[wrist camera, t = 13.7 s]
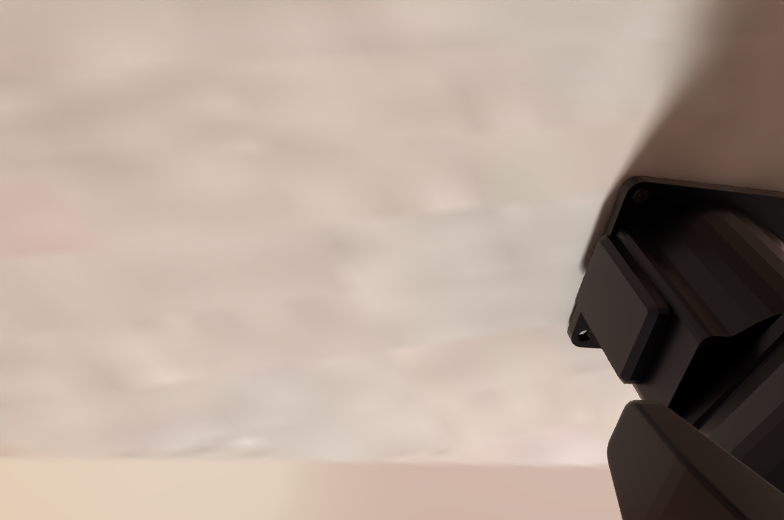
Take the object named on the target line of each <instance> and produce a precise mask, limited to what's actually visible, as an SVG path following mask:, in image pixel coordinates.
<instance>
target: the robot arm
mask: <svg viewBox="0 0 784 520" xmlns="http://www.w3.org/2000/svg"><path fill="white" fill-rule="evenodd" d="M639 189H643V192H642V193H641V194H640V195H639V196H637V197H633V195H634V193H635V192H636V191H637V190H639ZM575 302H576V304H577V305H576V308H575V311H574V313H573V316H572V319H571V321H570V324H569V327H568V331H567V333H568V335H569V338H570V339H571V341H572V343H573V344H574V345H575V346H578V347H585V348H601V349H603V351H604V353H605V355H606V356H607V358H608V360H609V362H610V363H611V365H612V367H613V369H614V370H615V372H616V374H617V376H618V377H619V378H620V380H621V381H622V382H623V383H624V384H633V386H634V388H635V389H636V391H637V393H638V394H639V396H640V398H641V399H642V400H633V401H630V402H629V403H628V404H626V406H625V408H624V410H623V412H622V414H621V416H620V418H619V420H618V423H617V425H616V427H615V429H614V431H613V433H612V436H611V438H610V440H609V443H608V448H607V458H608V464H609V468H610V471H611V475H612V480H613V483H614V487H615V492H616V496H617V499H618V503H619V507H620V511H621V515H622V519H623V520H784V193H783V192H775V191H766V190H757V189H749V188H740V187H732V186H723V185H714V184H706V183H697V182H688V181H680V180H671V179H663V178H654V177H645V176H635V177H632V178H630V179H628V180H627V181H626V182H625V183H624V184H623V186H622V188H621V190H620V192H619V195H618V197H617V200H616V203H615V205H614V208H613V211H612V213H611V216H610V219H609V221H608V224H607V226H606V229H605V232H604V234H603V236H602V237H601V238H600V239H599V240H598V241H597V243H596V246H595V249H594V251H593V254H592V257H591V259H590V262H589V265H588V267H587V270H586V273H585V275H584V278H583V281H582V283H581V286H580V289H579V291H578V294H577V297H576V300H575ZM584 330H587V331H586V332H585V333H584V334H580V332H582V331H584ZM579 334H580V335H579Z"/></svg>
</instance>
